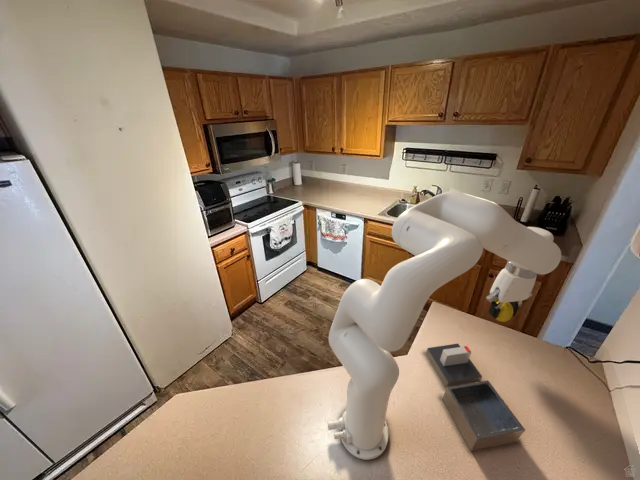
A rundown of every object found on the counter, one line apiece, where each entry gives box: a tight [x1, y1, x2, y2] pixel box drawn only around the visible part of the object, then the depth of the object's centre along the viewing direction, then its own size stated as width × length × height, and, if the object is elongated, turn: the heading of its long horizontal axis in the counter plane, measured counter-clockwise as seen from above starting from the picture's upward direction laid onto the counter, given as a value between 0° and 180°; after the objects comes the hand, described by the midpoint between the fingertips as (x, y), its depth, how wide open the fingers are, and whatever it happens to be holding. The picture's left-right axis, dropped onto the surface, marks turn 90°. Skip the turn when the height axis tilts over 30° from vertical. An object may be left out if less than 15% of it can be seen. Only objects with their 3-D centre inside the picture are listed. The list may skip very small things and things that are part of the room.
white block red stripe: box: [440, 345, 472, 366], centre depth 80 cm, size 8×2×5 cm, turn 98°
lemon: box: [495, 301, 514, 323], centre depth 83 cm, size 6×6×8 cm
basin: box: [442, 379, 526, 452], centre depth 68 cm, size 13×13×6 cm
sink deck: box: [425, 343, 483, 389], centre depth 82 cm, size 11×12×3 cm
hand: (501, 313), depth 84 cm, fingers closed on lemon, 5 cm apart
